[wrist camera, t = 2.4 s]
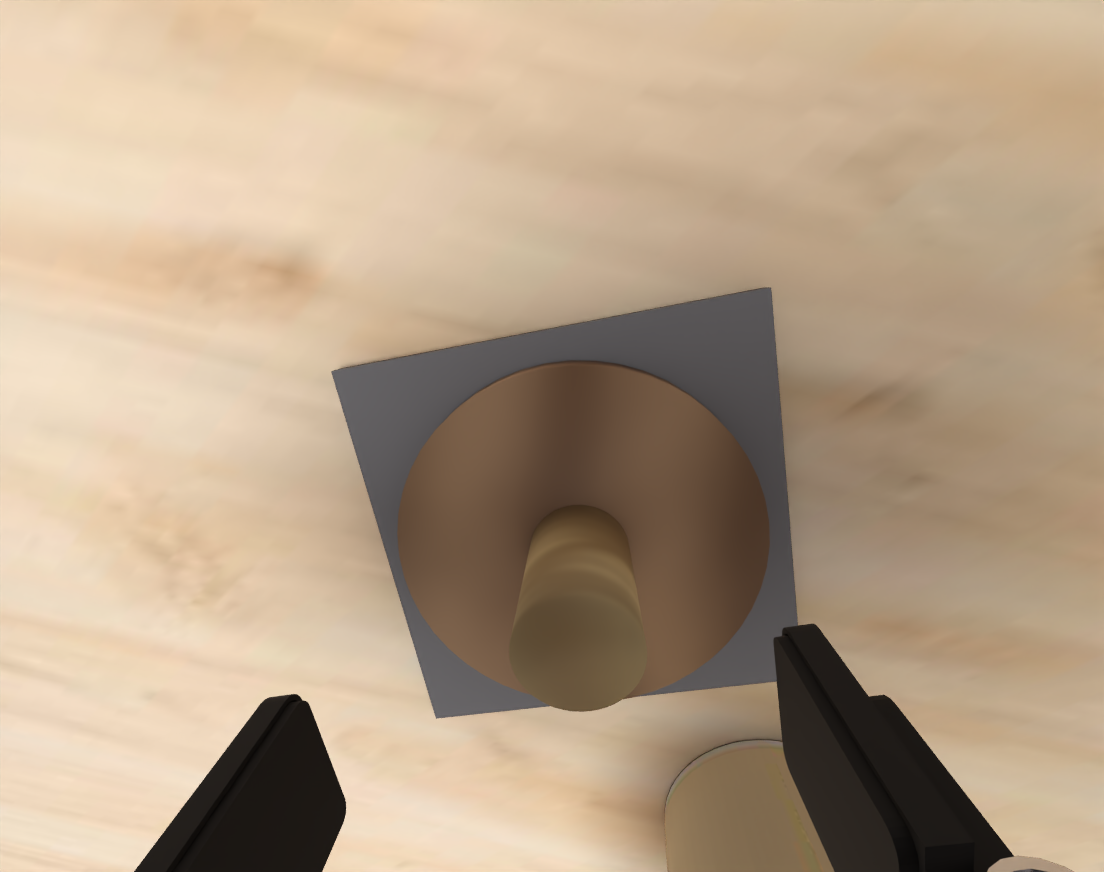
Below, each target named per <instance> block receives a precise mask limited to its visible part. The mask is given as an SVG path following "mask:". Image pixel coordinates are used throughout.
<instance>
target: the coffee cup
mask: <svg viewBox="0 0 1104 872" xmlns="http://www.w3.org/2000/svg"><path fill="white" fill-rule="evenodd" d="M665 836H666V856H667V869H668V872H834V870H833V867H832V865H831V863H830V861H829V858H828V856H827V854H826V852H825V850H824V847H823V845H822V843H821V841H820V838H819V836H818V834H817V832H816V830H815V827H814V825H813V823H812V821H811V818H810V816H809V814H808V812H807V809H806V807H805V805H804V803H803V801H802V798H801V796H800V794H799V792H798V789H797V787H796V785H795V783H794V781H793V778H792V776H791V774H790V771H789V769H788V766H787V763H786V760H785V756H784V751H783V742H780V741H771V740H751V741H741V742H736V743H732V744H728V745H725V746H722V747H719V748H716V749H714V750H712V751H710V752H708V753H706V754H704V755H702V756H700V757H699V758H697V759H696V760H694V761H693V762H692V763H691V764H690V765H688V766H687V767H686V768H685V769H684V770H683V771H682V772H681V773H680V775H679V776H678V777H677V779H676V780H675V782H674V783H673V785H672V787H671V789H670V792H669V794H668V797H667V801H666V806H665Z"/></svg>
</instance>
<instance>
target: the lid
mask: <svg viewBox="0 0 1104 872" xmlns="http://www.w3.org/2000/svg"><path fill="white" fill-rule="evenodd" d="M397 537H398V548H399V557H400V562H401V566H402V570H403V575H404V578H405V581H406V583H407V586H408V589H409V591H410V594H411V596H412V598H413V600H414V602H415V604H416V606H417V608H418V609H419V611H420V613H421V615H422V617H423V618H424V619H425V621H426V622H427V623H428V625H429V626H430V628H431V629H432V630H433V632H434V633H435V634H436V635H437V636H438V638H439V639H440V640H441V641H442V642H443V643H444V644H445V645H446V646H447V647H448V648H449V649H450V650H451V651H452V652H453V653H454V654H456V655H457V656H458V657H459V658H460V659H461V660H463V661H464V662H465V663H466V664H468V665H469V666H471V667H472V668H474V669H475V670H477V671H478V672H480V673H481V674H483V675H485V676H487V677H488V678H490V679H492V680H494V681H496V682H498V683H500V684H502V685H504V686H507V687H509V688H512V689H515V690H517V691H520V692H522V693H526V694H530V695H532V696H534V697H535V698H537V699H538V700H540V701H542V702H543V703H545V704H547V705H550V706H553V707H555V708H559V709H563V710H568V711H580V712H582V711H593V710H599V709H602V708H605V707H608V706H611V705H613V704H615V703H617V702H619V701H620V700H622V699H627V698H632V697H636V696H639V695H643V694H646V693H650V692H653V691H656V690H658V689H660V688H663V687H665V686H668V685H670V684H672V683H675V682H676V681H678V680H680V679H682V678H683V677H685V676H687V675H689V674H691V673H692V672H694V671H695V670H697V669H698V668H699V667H701V666H702V665H703V664H705V663H706V662H708V661H709V660H710V659H711V658H713V657H714V656H715V655H716V654H717V653H718V652H719V651H720V650H721V649H722V648H723V647H724V646H725V645H726V644H727V643H728V642H729V641H730V640H731V638H732V637H733V636H734V635H735V633H736V632H737V631H738V630H739V629H740V627H741V626H742V624H743V622H744V621H745V619H746V618H747V616H748V614H749V613H750V611H751V610H752V608H753V605H754V603H755V601H756V599H757V596H758V594H759V592H760V589H761V587H762V583H763V579H764V576H765V572H766V569H767V563H768V555H769V547H770V532H769V518H768V512H767V506H766V500H765V497H764V494H763V491H762V488H761V485H760V482H759V479H758V476H757V474H756V472H755V470H754V468H753V466H752V464H751V462H750V460H749V458H748V456H747V455H746V453H745V452H744V450H743V449H742V448H741V446H740V445H739V443H738V442H737V440H736V439H735V438H734V436H733V435H732V434H731V433H730V432H729V431H728V430H727V429H726V427H725V426H724V425H723V424H722V423H721V422H720V421H719V420H718V419H717V418H716V417H715V416H714V415H713V414H712V413H711V412H710V411H709V410H708V409H707V408H706V407H705V406H703V405H702V404H701V403H700V402H698V401H697V400H696V399H695V398H693V397H692V396H691V395H690V394H688V393H687V392H685V391H684V390H682V389H680V388H679V387H677V386H675V385H674V384H672V383H670V382H669V381H667V380H665V379H662V378H660V377H658V376H655V375H653V374H651V373H648V372H646V371H643V370H640V369H636V368H632V367H629V366H625V365H622V364H616V363H609V362H602V361H587V360H569V361H561V362H553V363H545V364H541V365H537V366H534V367H530V368H526V369H522V370H520V371H517V372H515V373H512V374H510V375H507V376H505V377H502V378H500V379H498V380H496V381H495V382H493V383H491V384H489V385H488V386H486V387H484V388H482V389H481V390H479V391H478V392H476V393H475V394H474V395H473V396H471V397H470V398H469V399H467V400H466V401H465V402H464V403H462V404H461V405H460V406H459V407H458V408H457V409H456V410H455V411H453V412H452V413H451V414H450V415H449V416H448V417H447V419H446V420H445V421H444V422H443V423H442V424H441V425H440V426H439V427H438V428H437V429H436V430H435V431H434V432H433V434H432V435H431V436H430V438H429V439H428V441H427V442H426V443H425V445H424V446H423V447H422V449H421V450H420V452H419V454H418V456H417V458H416V460H415V462H414V464H413V466H412V467H411V469H410V472H409V475H408V478H407V480H406V483H405V486H404V489H403V492H402V497H401V502H400V507H399V512H398V530H397Z"/></svg>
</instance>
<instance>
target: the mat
mask: <svg viewBox="0 0 1104 872" xmlns="http://www.w3.org/2000/svg"><path fill="white" fill-rule="evenodd" d="M569 360H587V361H602V362H609V363H616V364H622V365H625V366H629V367H632V368H636V369H640V370H643V371H646V372H648V373H651V374H653V375H655V376H658V377H660V378H662V379H665V380H667V381H669V382H670V383H672V384H674V385H675V386H677V387H679V388H680V389H682V390H684V391H685V392H687V393H688V394H690V395H691V396H692V397H693V398H695V399H696V400H697V401H698V402H700V403H701V404H702V405H703V406H705V407H706V408H707V409H708V410H709V411H710V412H711V413H712V414H713V415H714V416H715V417H716V418H717V419H718V420H719V421H720V422H721V423H722V424H723V425H724V426H725V427H726V429H727V430H728V431H729V432H730V433H731V434H732V435H733V436H734V438H735V439H736V440H737V442H738V443H739V445H740V446H741V448H742V449H743V450H744V452H745V453H746V455H747V456H748V458H749V460H750V462H751V464H752V466H753V468H754V470H755V472H756V474H757V476H758V479H759V482H760V485H761V488H762V491H763V494H764V497H765V500H766V506H767V512H768V518H769V532H770V547H769V555H768V563H767V569H766V572H765V576H764V579H763V583H762V587H761V589H760V592H759V594H758V596H757V599H756V601H755V603H754V605H753V608H752V610H751V611H750V613H749V614H748V616H747V618H746V619H745V621H744V622H743V624H742V626H741V627H740V629H739V630H738V631H737V632H736V633H735V635H734V636H733V637H732V638H731V640H730V641H729V642H728V643H727V644H726V645H725V646H724V647H723V648H722V649H721V650H720V651H719V652H718V653H717V654H716V655H715V656H714V657H713V658H711V659H710V660H709V661H708V662H706V663H705V664H703V665H702V666H701V667H699V668H698V669H697V670H695V671H694V672H692V673H691V674H689V675H687V676H685V677H683V678H682V679H680V680H678V681H676V682H675V683H672V684H670V685H668V686H665V687H663V688H660V689H658V690H656V691H653V692H650V693H646V694H643V695H639V696H647V695H656V694H665V693H674V692H684V691H693V690H702V689H711V688H720V687H729V686H739V685H748V684H757V683H766V682H775V681H777V677H776V666H775V655H774V644H773V640H774V638H775V637H780V636H782V629H783V628H785V627H792V626H798V622H797V609H796V596H795V584H794V571H793V558H792V546H791V533H790V520H789V508H788V495H787V482H786V470H785V457H784V444H783V431H782V419H781V406H780V393H779V381H778V368H777V355H776V343H775V330H774V317H773V305H772V292H771V288H760V289H755V290H749V291H744V292H739V293H734V294H728V295H723V296H718V297H713V298H707V299H702V300H697V301H692V302H687V303H681V304H676V305H671V306H666V307H660V308H655V309H650V310H645V311H639V312H634V313H629V314H624V315H619V316H613V317H608V318H603V319H598V320H592V321H587V322H582V323H577V324H571V325H566V326H561V327H556V328H551V329H545V330H540V331H535V332H530V333H524V334H519V335H514V336H509V337H503V338H498V339H493V340H488V341H483V342H477V343H472V344H467V345H462V346H456V347H451V348H446V349H441V350H435V351H430V352H425V353H420V354H414V355H409V356H404V357H399V358H394V359H388V360H383V361H378V362H373V363H367V364H362V365H357V366H352V367H346V368H341V369H338V370H334V371H331V372H332V375H333V379H334V382H335V385H336V389H337V392H338V395H339V399H340V402H341V405H342V409H343V412H344V415H345V418H346V422H347V425H348V428H349V432H350V435H351V438H352V442H353V445H354V448H355V452H356V455H357V458H358V461H359V465H360V468H361V471H362V475H363V478H364V481H365V485H366V488H367V491H368V495H369V498H370V501H371V505H372V508H373V511H374V514H375V518H376V521H377V524H378V528H379V531H380V534H381V538H382V541H383V544H384V548H385V551H386V554H387V557H388V561H389V564H390V567H391V571H392V574H393V577H394V581H395V584H396V587H397V591H398V594H399V597H400V601H401V604H402V607H403V610H404V614H405V617H406V620H407V624H408V627H409V630H410V634H411V637H412V640H413V644H414V647H415V650H416V654H417V657H418V660H419V663H420V667H421V670H422V673H423V677H424V680H425V683H426V687H427V690H428V693H429V697H430V700H431V703H432V706H433V710H434V713H435V716H436V718H445V717H454V716H463V715H473V714H482V713H491V712H500V711H509V710H518V709H528V708H537V707H546V706H550V705H547V704H545V703H543V702H542V701H540V700H538V699H537V698H535V697H534V696H532V695H530V694H526V693H522V692H520V691H517V690H515V689H512V688H509V687H507V686H504V685H502V684H500V683H498V682H496V681H494V680H492V679H490V678H488V677H487V676H485V675H483V674H481V673H480V672H478V671H477V670H475V669H474V668H472V667H471V666H469V665H468V664H466V663H465V662H464V661H463V660H461V659H460V658H459V657H458V656H457V655H456V654H454V653H453V652H452V651H451V650H450V649H449V648H448V647H447V646H446V645H445V644H444V643H443V642H442V641H441V640H440V639H439V638H438V636H437V635H436V634H435V633H434V632H433V630H432V629H431V628H430V626H429V625H428V623H427V622H426V621H425V619H424V618H423V617H422V615H421V613H420V611H419V609H418V608H417V606H416V604H415V602H414V600H413V598H412V596H411V594H410V591H409V589H408V586H407V583H406V581H405V578H404V575H403V570H402V566H401V562H400V557H399V548H398V537H397V530H398V512H399V507H400V502H401V497H402V492H403V489H404V486H405V483H406V480H407V478H408V475H409V472H410V469H411V467H412V466H413V464H414V462H415V460H416V458H417V456H418V454H419V452H420V450H421V449H422V447H423V446H424V445H425V443H426V442H427V441H428V439H429V438H430V436H431V435H432V434H433V432H434V431H435V430H436V429H437V428H438V427H439V426H440V425H441V424H442V423H443V422H444V421H445V420H446V419H447V417H448V416H449V415H450V414H451V413H452V412H453V411H455V410H456V409H457V408H458V407H459V406H460V405H461V404H462V403H464V402H465V401H466V400H467V399H469V398H470V397H471V396H473V395H474V394H475V393H476V392H478V391H479V390H481V389H482V388H484V387H486V386H488V385H489V384H491V383H493V382H495V381H496V380H498V379H500V378H502V377H505V376H507V375H510V374H512V373H515V372H517V371H520V370H522V369H526V368H530V367H534V366H537V365H541V364H545V363H553V362H561V361H569ZM636 697H638V696H636Z"/></svg>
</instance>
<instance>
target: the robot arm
mask: <svg viewBox="0 0 1104 872" xmlns="http://www.w3.org/2000/svg"><path fill="white" fill-rule="evenodd" d="M773 644H774V655H775V666H776V677H777V688H778V699H779V709H780V720H781V731H782V742H783V751H784V756H785V760H786V763H787V766H788V769H789V771H790V774H791V776H792V778H793V781H794V783H795V785H796V787H797V789H798V792H799V794H800V796H801V798H802V801H803V803H804V805H805V807H806V809H807V812H808V814H809V816H810V818H811V821H812V823H813V825H814V827H815V830H816V832H817V834H818V836H819V838H820V841H821V843H822V845H823V847H824V850H825V852H826V854H827V856H828V858H829V861H830V863H831V865H832V867H833V870H834V872H1074V871H1072V870H1070V869H1068V868H1066V867H1064V866H1061V865H1058V864H1055V863H1053V862H1050V861H1047V860H1044V859H1041V858H1033V857H1025V856H1013V854H1012V853H1011V852H1010V850H1009V849H1008V848H1007V847H1006V845H1005V844H1004V843H1003V841H1002V840H1001V839H1000V838H999V836H998V835H997V834H996V832H995V831H994V830H993V829H992V827H991V826H990V825H989V823H988V822H987V821H986V820H985V818H984V817H983V816H982V814H981V813H980V812H979V811H978V809H977V808H976V807H975V805H974V804H973V803H972V802H971V800H970V799H969V798H968V796H967V795H966V794H965V793H964V791H963V790H962V789H961V787H960V786H959V785H958V784H957V782H956V781H955V780H954V778H953V777H952V776H951V775H950V773H949V772H948V771H947V769H946V768H945V767H944V766H943V764H942V763H941V762H940V760H939V759H938V758H937V757H936V755H935V754H934V753H933V751H932V750H931V749H930V748H929V746H928V745H927V744H926V743H925V741H924V740H923V739H922V737H921V736H920V735H919V734H918V732H917V731H916V730H915V728H914V727H913V726H912V725H911V723H910V722H909V721H908V719H907V718H906V717H905V716H904V714H903V713H902V712H901V710H900V709H899V708H898V707H897V705H896V704H895V703H894V702H893V701H892V700H891V699H890V698H889V697H887V696H885V695H879V696H871V697H869V696H868V695H867V694H866V692H865V691H864V690H863V688H862V687H861V685H860V684H859V683H858V681H857V680H856V679H855V677H854V676H853V674H852V673H851V672H850V670H849V669H848V668H847V666H846V665H845V663H844V662H843V661H842V659H841V658H840V657H839V655H838V654H837V652H836V651H835V650H834V648H833V647H832V646H831V644H830V643H829V641H828V640H827V639H826V637H825V636H824V635H823V633H822V632H821V630H820V629H819V628H818V627H817V626H816V625H815V624H807V625H799V626H792V627H785V628H783V629H782V636H780V637H775V638H774V640H773ZM345 814H346V801H345V798H344V795H343V792H342V790H341V787H340V784H339V782H338V779H337V776H336V774H335V771H334V769H333V766H332V763H331V761H330V758H329V755H328V753H327V750H326V747H325V745H324V742H323V740H322V737H321V734H320V732H319V729H318V726H317V724H316V721H315V719H314V716H313V713H312V711H311V708H310V706H309V704H308V702H306V701H302V699H301V697H300V696H298V695H297V694H291V695H284V696H277V697H269V698H267V699H265V700H264V701H263V702H262V703H261V704H260V705H259V707H258V708H257V709H256V711H255V712H254V713H253V715H252V716H251V717H250V719H249V720H248V721H247V723H246V724H245V725H244V727H243V728H242V729H241V731H240V732H239V733H238V735H237V736H236V737H235V739H234V740H233V741H232V743H231V744H230V745H229V747H228V748H227V749H226V751H225V752H224V753H223V755H222V756H221V757H220V759H219V760H218V761H217V763H216V764H215V765H214V766H213V768H212V769H211V770H210V772H209V773H208V774H207V776H206V777H205V778H204V780H203V781H202V782H201V784H200V785H199V786H198V788H197V789H196V790H195V792H194V793H193V794H192V796H191V797H190V798H189V800H188V801H187V802H186V804H185V805H184V806H183V808H182V809H181V810H180V812H179V813H178V814H177V816H176V817H175V818H174V820H173V821H172V822H171V823H170V825H169V826H168V827H167V829H166V830H165V831H164V833H163V834H162V835H161V837H160V838H159V839H158V841H157V842H156V843H155V845H154V846H153V847H152V849H151V850H150V851H149V853H148V854H147V855H146V857H145V858H144V859H143V861H142V862H141V863H140V865H139V866H138V867H137V869H136V870H135V871H134V872H322V871H323V868H324V866H325V864H326V861H327V859H328V857H329V854H330V852H331V850H332V847H333V845H334V843H335V841H336V838H337V836H338V834H339V831H340V829H341V827H342V824H343V822H344V819H345Z"/></svg>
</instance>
